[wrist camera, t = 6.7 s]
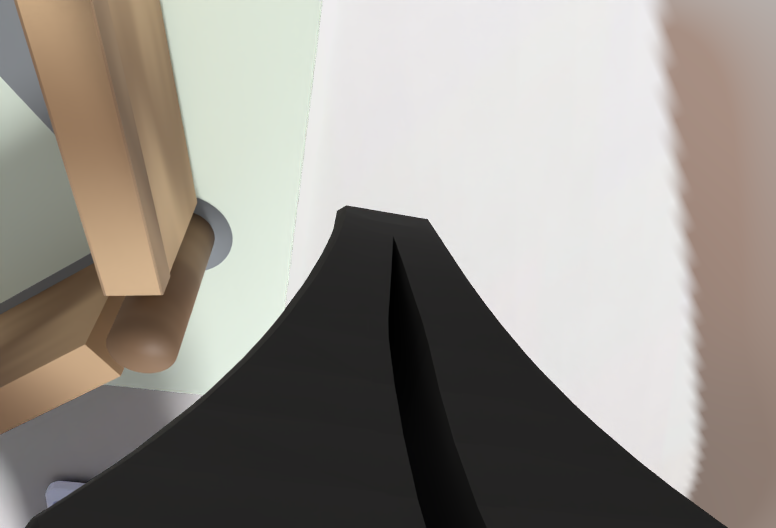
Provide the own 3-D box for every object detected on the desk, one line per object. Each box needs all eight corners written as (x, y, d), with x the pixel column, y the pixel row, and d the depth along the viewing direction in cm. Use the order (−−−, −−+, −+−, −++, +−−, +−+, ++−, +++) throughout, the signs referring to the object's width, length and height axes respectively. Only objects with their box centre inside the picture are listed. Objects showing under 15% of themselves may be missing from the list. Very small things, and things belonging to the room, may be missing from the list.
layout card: (274, 396, 24) (273, 403, 24) (-64, 360, 23) (-69, 366, 22) (333, -94, 15) (333, -92, 15) (-216, -202, 14) (-227, -202, 13)
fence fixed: (228, 237, 20) (192, 357, 16) (-27, 371, 23) (-112, 502, 19) (192, 195, 19) (145, 311, 15) (-68, 340, 22) (-166, 470, 18)
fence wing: (199, 202, 19) (163, 295, 15) (150, 202, 18) (103, 296, 15) (135, -142, 14) (64, -114, 11) (70, -142, 14) (-22, -114, 11)
